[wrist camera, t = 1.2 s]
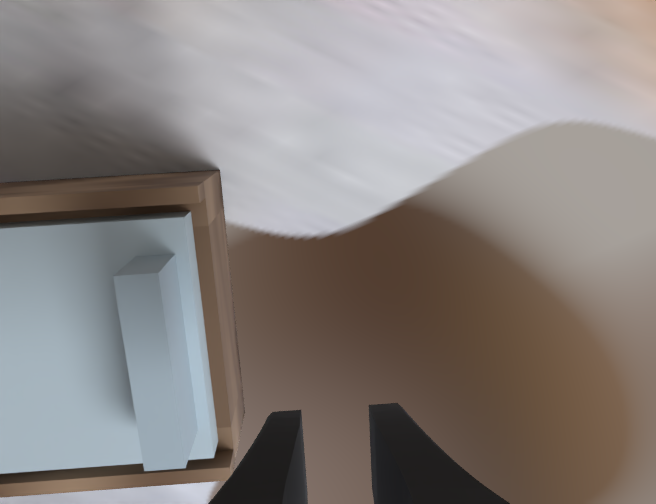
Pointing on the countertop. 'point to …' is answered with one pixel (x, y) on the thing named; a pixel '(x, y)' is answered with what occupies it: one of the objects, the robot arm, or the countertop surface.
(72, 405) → the cover plate
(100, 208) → the walnut box
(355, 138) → the countertop surface
